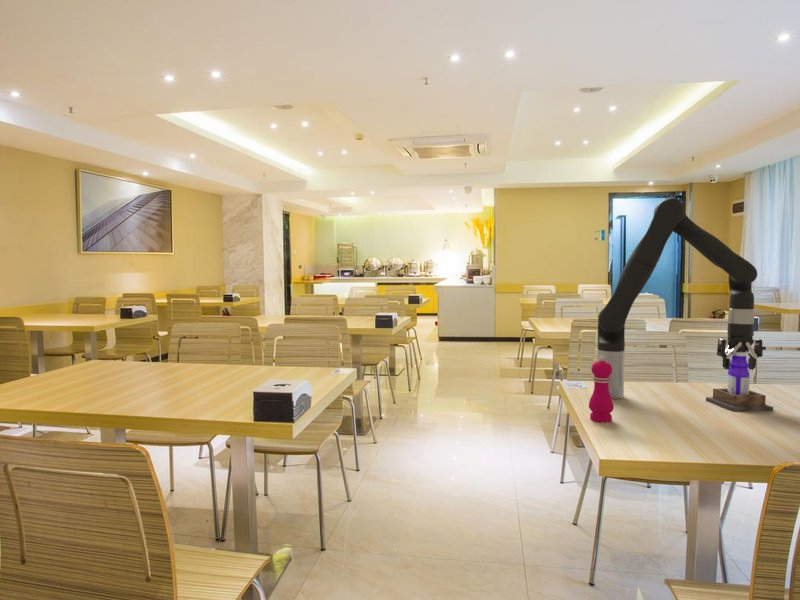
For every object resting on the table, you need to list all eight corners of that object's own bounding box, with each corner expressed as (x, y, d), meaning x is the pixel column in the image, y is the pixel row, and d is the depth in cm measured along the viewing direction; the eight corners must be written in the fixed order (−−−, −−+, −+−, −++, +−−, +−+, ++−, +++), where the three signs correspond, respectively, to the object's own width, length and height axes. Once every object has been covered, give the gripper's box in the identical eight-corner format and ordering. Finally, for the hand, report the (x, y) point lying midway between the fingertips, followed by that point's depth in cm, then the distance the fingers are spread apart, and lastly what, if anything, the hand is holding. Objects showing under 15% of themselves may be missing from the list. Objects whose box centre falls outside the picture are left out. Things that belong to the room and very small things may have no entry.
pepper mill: (601, 415, 168) (602, 353, 167) (618, 421, 162) (619, 357, 161) (583, 418, 166) (584, 355, 165) (599, 424, 159) (601, 358, 158)
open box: (731, 410, 174) (731, 396, 173) (705, 400, 188) (706, 387, 187) (773, 410, 174) (773, 396, 174) (744, 400, 188) (744, 387, 188)
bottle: (751, 404, 177) (753, 353, 176) (733, 404, 178) (734, 353, 177) (742, 399, 184) (743, 350, 183) (724, 399, 185) (725, 349, 184)
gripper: (727, 323, 175) (725, 371, 176) (769, 323, 176) (767, 371, 177) (713, 320, 183) (711, 367, 184) (753, 321, 183) (751, 367, 184)
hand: (739, 369), depth 180 cm, fingers open, 8 cm apart
